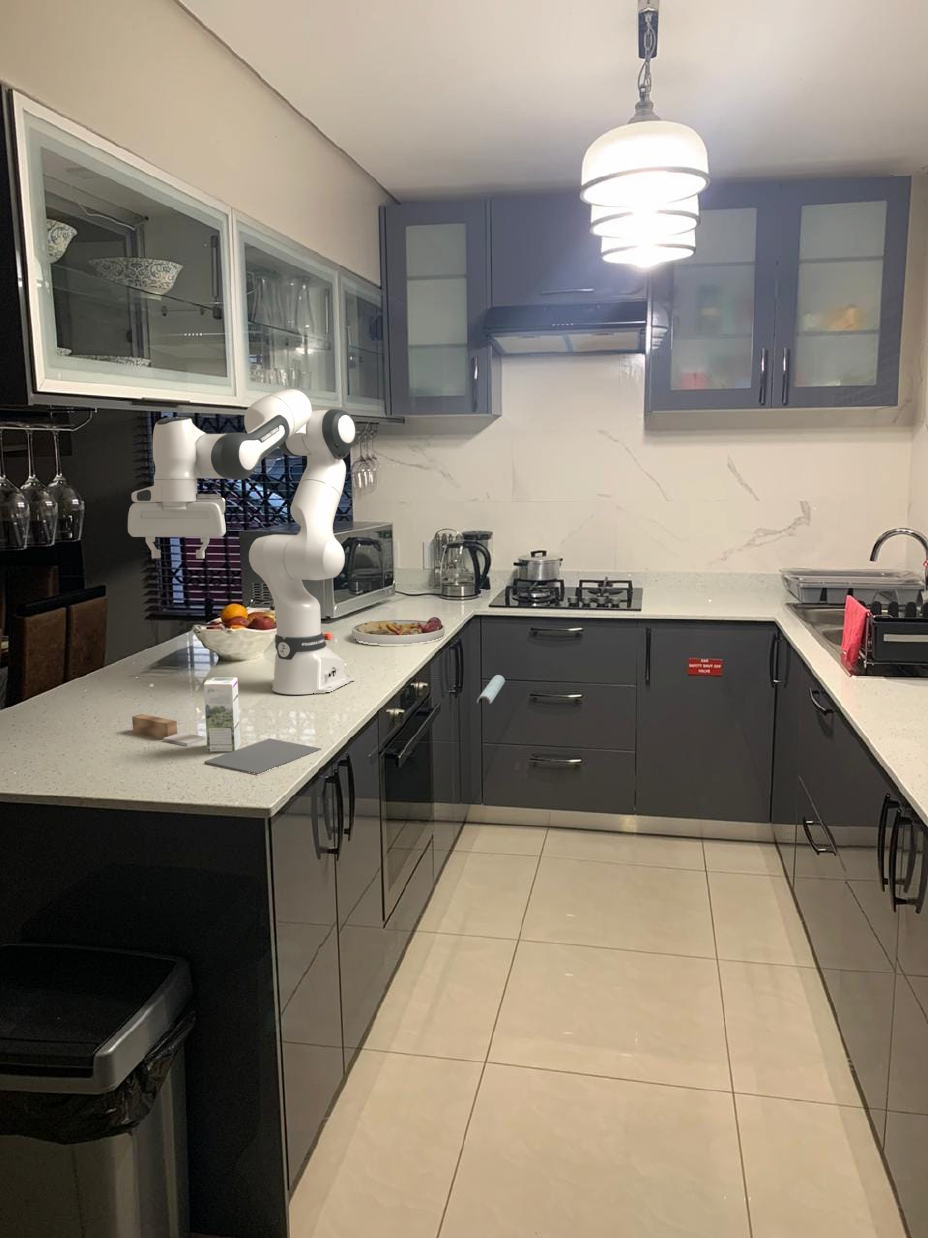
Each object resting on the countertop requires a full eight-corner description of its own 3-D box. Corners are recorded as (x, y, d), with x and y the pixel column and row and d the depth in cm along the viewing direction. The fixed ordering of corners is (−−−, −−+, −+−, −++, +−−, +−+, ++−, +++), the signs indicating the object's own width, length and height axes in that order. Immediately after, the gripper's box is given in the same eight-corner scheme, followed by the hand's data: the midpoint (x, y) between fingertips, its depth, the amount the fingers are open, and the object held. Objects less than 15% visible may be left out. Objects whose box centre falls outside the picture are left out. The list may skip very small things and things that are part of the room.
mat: (269, 741, 199) (269, 738, 199) (321, 751, 191) (321, 748, 191) (204, 764, 184) (204, 761, 183) (258, 776, 176) (258, 773, 176)
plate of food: (358, 653, 290) (358, 628, 289) (346, 636, 319) (345, 613, 318) (454, 648, 298) (454, 623, 296) (434, 632, 326) (433, 609, 325)
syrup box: (241, 744, 196) (238, 676, 194) (235, 753, 190) (232, 682, 188) (213, 745, 196) (209, 676, 194) (206, 754, 190) (202, 683, 188)
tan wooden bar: (128, 734, 205) (127, 718, 204) (147, 728, 209) (146, 712, 208) (187, 746, 195) (186, 729, 195) (205, 740, 199) (204, 724, 199)
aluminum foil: (492, 687, 247) (492, 674, 246) (517, 688, 246) (517, 675, 245) (476, 709, 225) (476, 695, 224) (504, 710, 224) (504, 696, 223)
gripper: (228, 493, 207) (230, 557, 209) (133, 493, 207) (135, 556, 209) (221, 493, 201) (223, 559, 203) (123, 493, 200) (126, 559, 202)
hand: (178, 558), depth 206 cm, fingers open, 8 cm apart
